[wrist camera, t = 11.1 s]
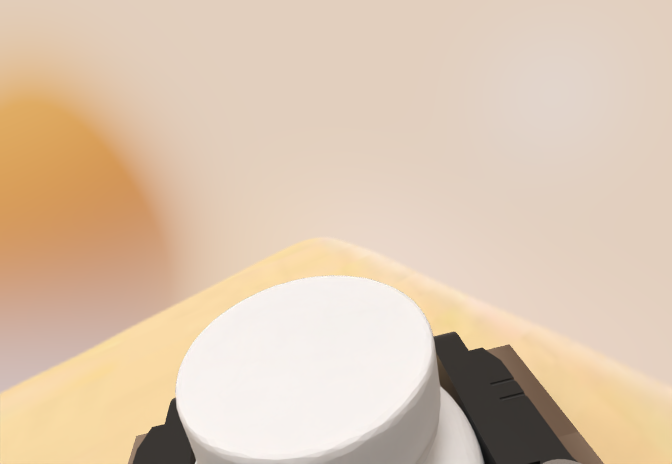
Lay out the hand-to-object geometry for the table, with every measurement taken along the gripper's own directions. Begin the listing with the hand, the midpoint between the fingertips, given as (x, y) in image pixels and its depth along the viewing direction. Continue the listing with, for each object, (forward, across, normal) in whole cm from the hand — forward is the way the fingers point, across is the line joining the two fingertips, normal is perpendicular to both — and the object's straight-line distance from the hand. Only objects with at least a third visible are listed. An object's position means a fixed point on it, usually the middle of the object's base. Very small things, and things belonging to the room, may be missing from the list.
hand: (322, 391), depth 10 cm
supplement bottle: (-3, 0, +6) cm, 7 cm away
